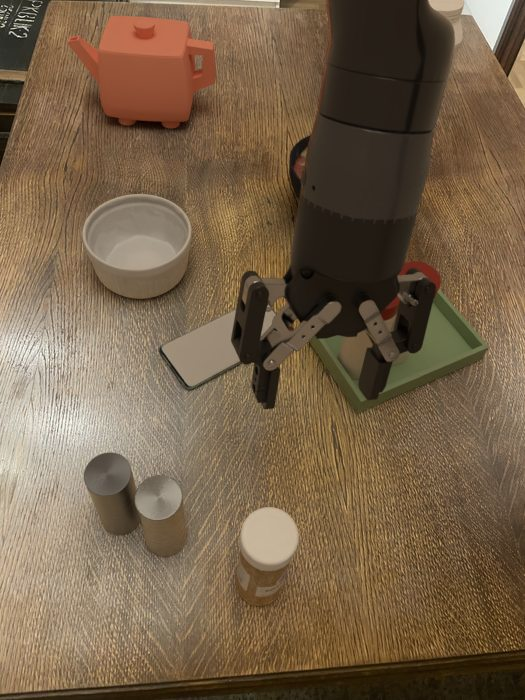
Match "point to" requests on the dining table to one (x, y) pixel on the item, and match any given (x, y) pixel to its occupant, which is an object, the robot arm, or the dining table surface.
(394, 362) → the spice bottle
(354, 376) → the spice bottle
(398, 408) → the dining table surface
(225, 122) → the dining table surface
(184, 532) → the grey tin
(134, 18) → the teapot
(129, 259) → the ramekin
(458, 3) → the jar
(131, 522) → the grey tin
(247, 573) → the sprinkles bottle
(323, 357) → the tray
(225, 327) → the smartphone
